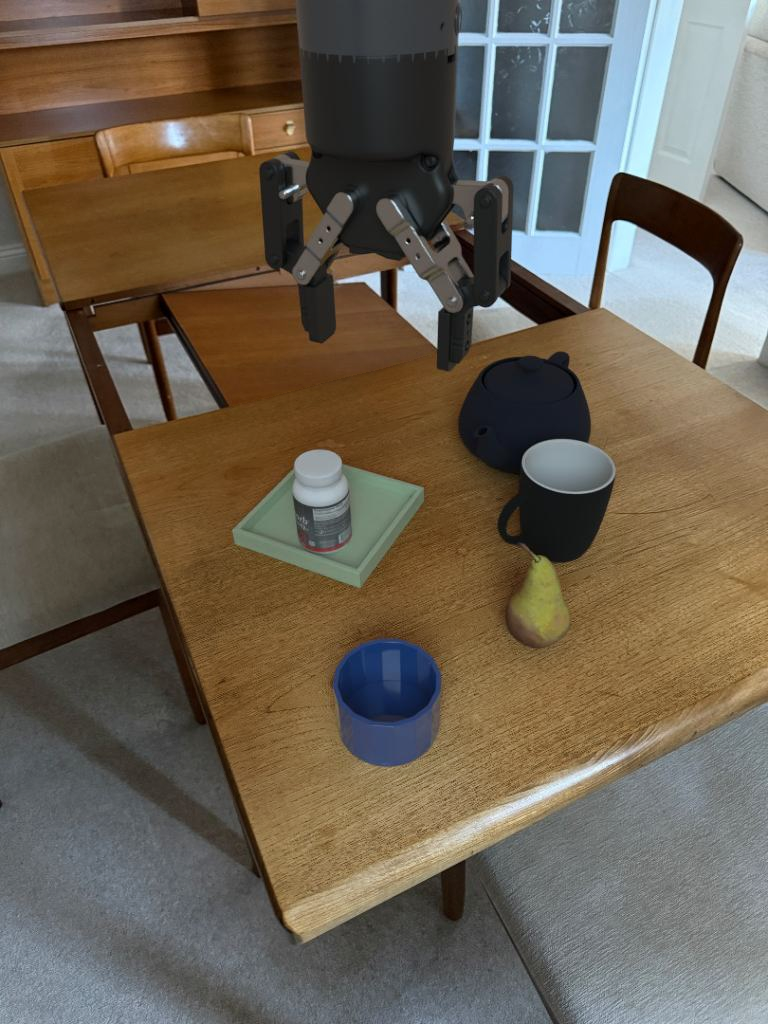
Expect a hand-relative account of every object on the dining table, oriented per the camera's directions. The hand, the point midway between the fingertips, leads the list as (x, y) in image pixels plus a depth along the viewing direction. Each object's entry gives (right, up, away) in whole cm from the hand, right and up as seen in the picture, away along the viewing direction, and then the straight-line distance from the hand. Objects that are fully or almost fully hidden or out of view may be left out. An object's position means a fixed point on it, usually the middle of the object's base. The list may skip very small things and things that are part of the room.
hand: (384, 351), depth 45 cm
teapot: (+16, -3, +45) cm, 48 cm away
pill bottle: (-6, -13, +34) cm, 36 cm away
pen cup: (0, -27, +16) cm, 32 cm away
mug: (+17, -14, +32) cm, 39 cm away
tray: (-6, -11, +36) cm, 38 cm away
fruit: (+14, -21, +23) cm, 34 cm away
